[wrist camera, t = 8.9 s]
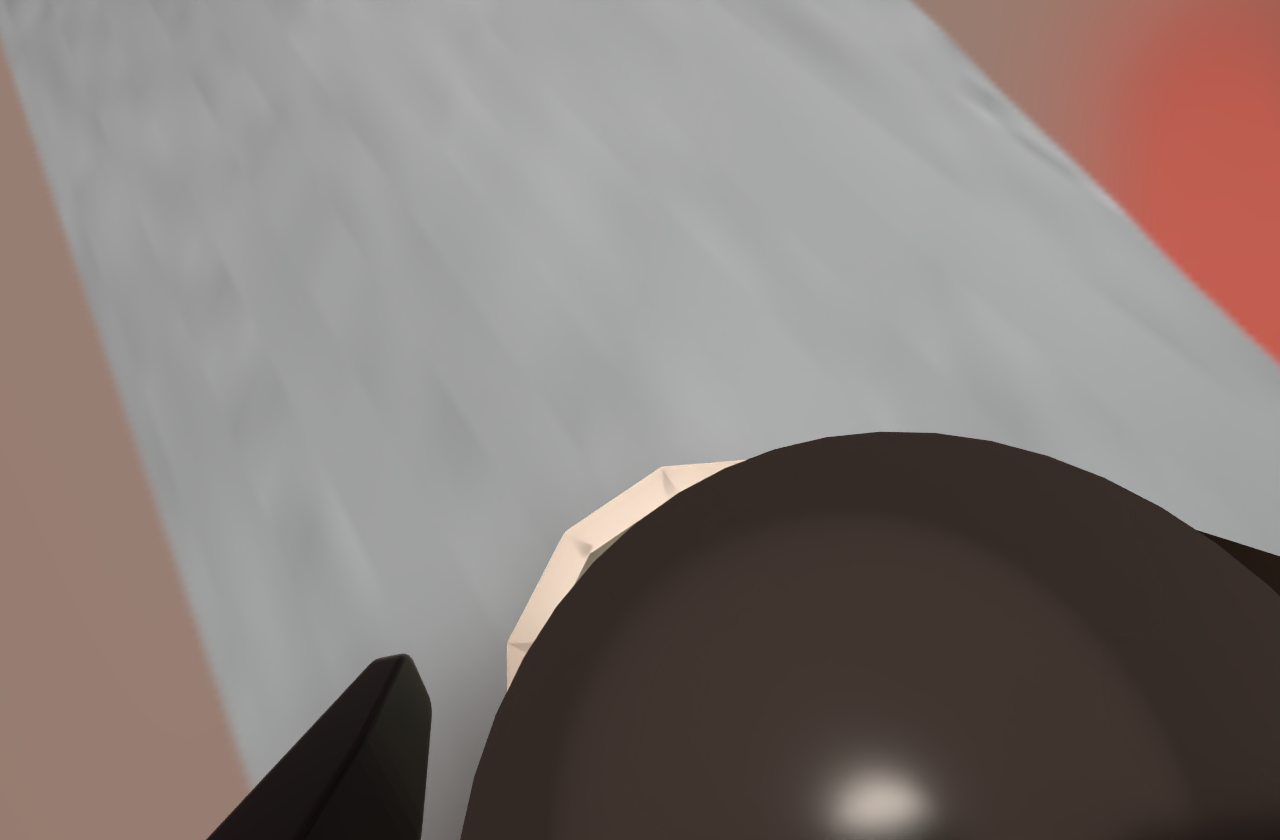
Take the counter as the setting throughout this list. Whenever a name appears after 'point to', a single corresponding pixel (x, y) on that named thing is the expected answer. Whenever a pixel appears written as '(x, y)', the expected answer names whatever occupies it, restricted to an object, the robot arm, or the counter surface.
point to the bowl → (597, 547)
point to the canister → (896, 663)
